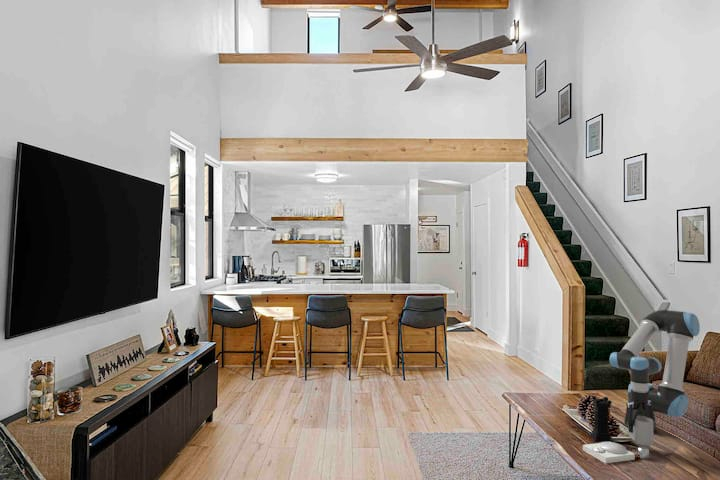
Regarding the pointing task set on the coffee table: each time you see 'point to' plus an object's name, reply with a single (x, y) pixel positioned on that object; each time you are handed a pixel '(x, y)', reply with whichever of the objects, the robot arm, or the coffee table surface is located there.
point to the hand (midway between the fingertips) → (640, 437)
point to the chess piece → (601, 420)
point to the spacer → (643, 452)
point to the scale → (609, 452)
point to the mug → (643, 431)
